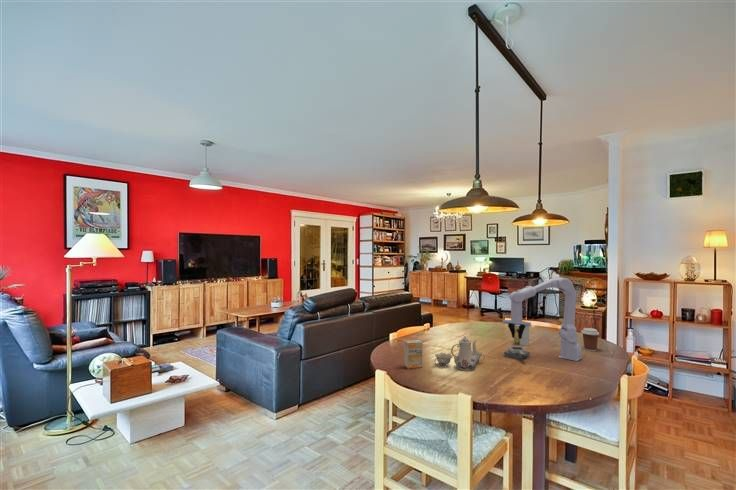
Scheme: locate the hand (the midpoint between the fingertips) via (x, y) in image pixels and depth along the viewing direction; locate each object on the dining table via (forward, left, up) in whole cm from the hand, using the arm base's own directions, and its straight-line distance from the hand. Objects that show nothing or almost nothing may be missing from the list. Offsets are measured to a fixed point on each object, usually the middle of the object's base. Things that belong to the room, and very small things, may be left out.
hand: (516, 337), depth 200 cm
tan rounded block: (0, 0, -3) cm, 3 cm away
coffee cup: (-25, -43, -10) cm, 51 cm away
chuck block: (0, 0, -10) cm, 10 cm away
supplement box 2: (+9, -27, -10) cm, 30 cm away
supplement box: (+30, +54, -10) cm, 63 cm away
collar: (-3, +4, -8) cm, 9 cm away
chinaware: (+13, +36, -11) cm, 40 cm away
